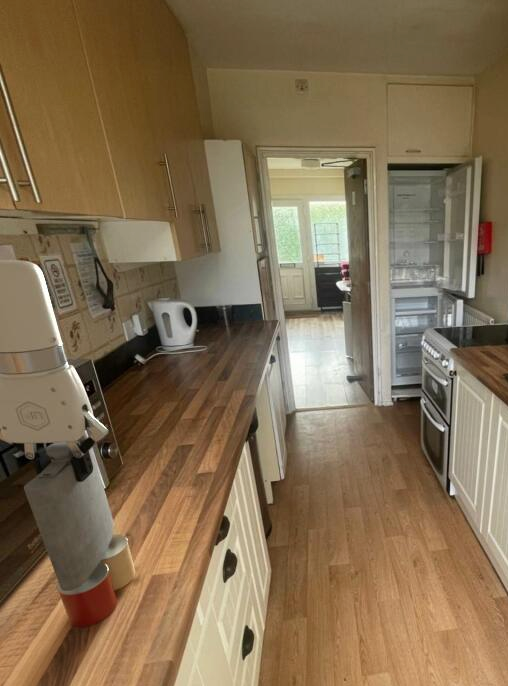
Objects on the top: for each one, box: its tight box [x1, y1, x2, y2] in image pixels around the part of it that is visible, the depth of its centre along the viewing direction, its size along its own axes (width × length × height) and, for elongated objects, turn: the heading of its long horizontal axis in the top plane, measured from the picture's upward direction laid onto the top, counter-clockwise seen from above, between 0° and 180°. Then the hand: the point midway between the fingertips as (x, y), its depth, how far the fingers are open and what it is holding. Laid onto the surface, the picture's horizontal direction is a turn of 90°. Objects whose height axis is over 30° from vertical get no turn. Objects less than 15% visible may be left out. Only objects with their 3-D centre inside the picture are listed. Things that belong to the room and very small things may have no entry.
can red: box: [56, 562, 118, 628], centre depth 68 cm, size 7×7×7 cm
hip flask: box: [23, 440, 115, 591], centre depth 66 cm, size 16×4×20 cm, turn 13°
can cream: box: [100, 533, 136, 592], centre depth 75 cm, size 7×7×7 cm
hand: (67, 476), depth 64 cm, fingers closed on hip flask, 4 cm apart
